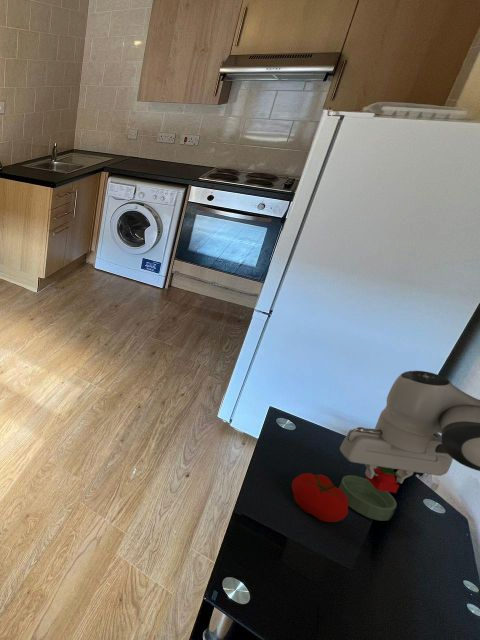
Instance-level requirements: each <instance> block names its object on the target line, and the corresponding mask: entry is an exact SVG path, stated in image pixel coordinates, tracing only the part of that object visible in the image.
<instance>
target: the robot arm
mask: <svg viewBox="0 0 480 640" xmlns="http://www.w3.org/2000/svg"><path fill="white" fill-rule="evenodd" d="M375 424H376V425H375V427H374V428H366V427H363V426H358V427H356V428H352V429H350V430H349V431H348V433H347V435H346V436H345V437H344V439H343V440H342V442H341V445H340V446H339V451H340V453H341V454H342V455H343V457H344V458H345V459H346V460H347V461H348V462H350V463H356V464H361V465H364V466H365V468H366V469H365V472H364V474H365V477H366V476H367V477H368V478H371V479H377V477H378V475H379V474H378V473H377V472H375V470H374V469H376V468H378V466H380V467H386V468H391V469H392V470H393V469H394V470H397V471H396V472H395V471H394V472H395V473H396V475H394V476H395V479H396V481H395V482H396V483H397V484H403V482H404V480H405V479H407V478H409V477H411V476H413V475H414V473H418V474H426V475H432V476H437V477H441V476H444V475H446V474H447V473H448V472H449V471H450V468H451V465H452V463H453V460H454V461H456V462H457V463H459V464H461V465H463V466H464V467H467V468H469V469H471V470H474V471H478V472H480V399H478V398H477V397H473V396H472V395H470V394H468V393H466V392H464V391H463V390H461V389H460V388H459V387H457V386H456V385H454V384H453V383H452V382H451V381H450V380H449V379H448V378H446V377H445V376H442V375H439V374H437V373H434V372H430V371H424V370H407V371H404V372H402V373H401V374H399V375H398V377H397V378H396V379H395V381H394V382H393V383H392V386H391V388H390V390H389V392H388V393H387V396H386V405H385V407H384V408H383V409H382V411H381V412H380V414H379V417H378V420H377V422H376V423H375Z"/></svg>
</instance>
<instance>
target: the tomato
mask: <svg viewBox="0 0 480 640" xmlns="http://www.w3.org/2000/svg"><path fill="white" fill-rule="evenodd" d="M291 490H292V493H293V500H294V501H295V502H296V504H297V506H298V507H299V508H300V509H301V510H302V511H303V512H304V513H305V514H309V515H312V516H313V517H314V518H316V519H317V520H319V521H322V522H326V523H336V522H341V521H343V520H344V519H345V518H346V517H347V516H348V514H349V506H348V505H349V503H348V499H347V497H346V496H345V494H344V493H343V491H342V490H341V489H339V487H336V485H335V484H334V483H333V482H332V480H330V478H329V477H328V476H326V475H323V474H322V473H320V474H316V473H314V474H312V473H311V472H305V473H301V474H299V475H298V476H296V477H295V478H294V479H293V481H291Z"/></svg>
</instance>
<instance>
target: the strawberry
mask: <svg viewBox="0 0 480 640" xmlns="http://www.w3.org/2000/svg"><path fill="white" fill-rule="evenodd" d="M373 469H374V470H375V472H377V473H378V474H379V475H378V477H377V479H371V478H368V477H367V476H366V475H365V479H367V480H369V481H370V483H371V484H372V485H373V486H374V487H375V488H376V489H377V490H381V491H387V492H389V493H393V494H396V493H397V492H398V489H399V487H400V485H399V483H396V482H395V481H396V479H395V476H394V475H396V473H395V471H394V470H393V468H386V467H380V466H377V468H376V469H375V468H373Z"/></svg>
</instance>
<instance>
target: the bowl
mask: <svg viewBox="0 0 480 640" xmlns="http://www.w3.org/2000/svg"><path fill="white" fill-rule="evenodd" d="M338 488H339V489H341V490H342V491H343V493H344V494H345V496H346V497H347V499H348V503H349V505H348V508H350V509H352V510H353V511H355V512H356V513H359V514H360V515H363V516H364V517H366V518H369V519H372V520H375V521H381V522H386V521H390V520H392V518H393V516H394V514H395V511H396V509H397V505H398V504H397V501H396V499H395V498H394V496H393V495H392V494H391V492H387V491H381V490H377V489H376V488H375V487H374V486H373V485H372V484H371V483H370V481H369V480H368V479H367V478H366V477H365V478H364V477H362V476H358V475H353V474H351V475H350V474H349V475H345V476H343V477H342V478H341V481H340V483H339V486H338Z"/></svg>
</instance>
